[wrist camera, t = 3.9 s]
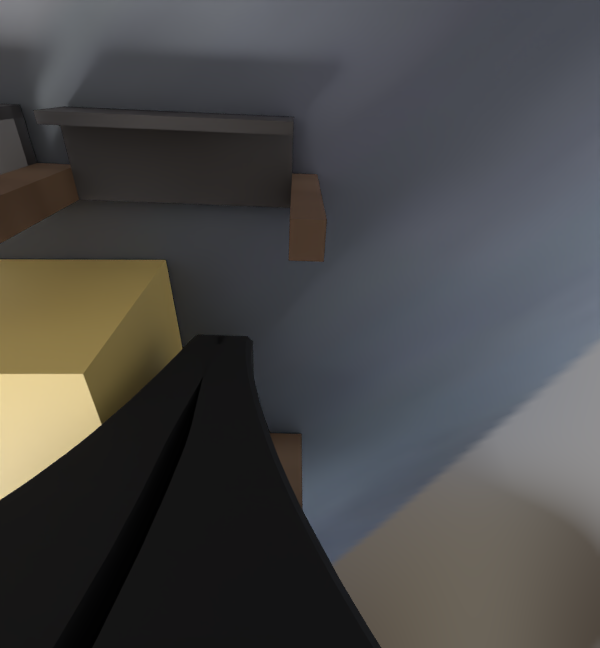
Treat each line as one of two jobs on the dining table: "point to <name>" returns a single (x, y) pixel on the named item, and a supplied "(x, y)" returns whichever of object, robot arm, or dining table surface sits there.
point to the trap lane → (164, 178)
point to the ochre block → (75, 352)
